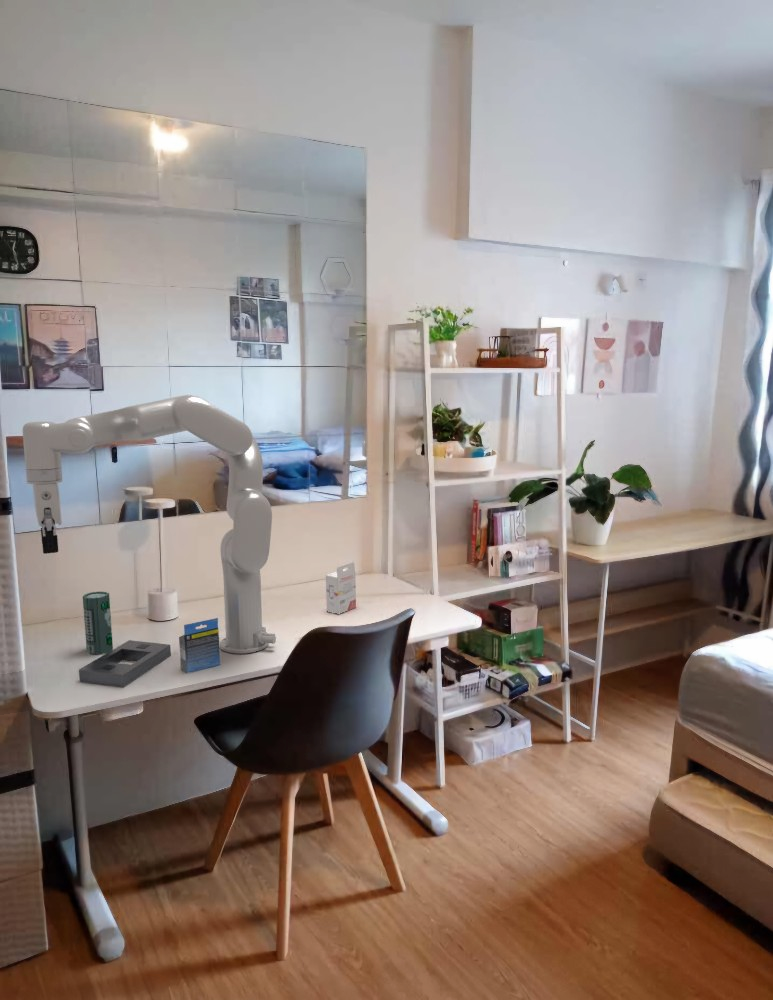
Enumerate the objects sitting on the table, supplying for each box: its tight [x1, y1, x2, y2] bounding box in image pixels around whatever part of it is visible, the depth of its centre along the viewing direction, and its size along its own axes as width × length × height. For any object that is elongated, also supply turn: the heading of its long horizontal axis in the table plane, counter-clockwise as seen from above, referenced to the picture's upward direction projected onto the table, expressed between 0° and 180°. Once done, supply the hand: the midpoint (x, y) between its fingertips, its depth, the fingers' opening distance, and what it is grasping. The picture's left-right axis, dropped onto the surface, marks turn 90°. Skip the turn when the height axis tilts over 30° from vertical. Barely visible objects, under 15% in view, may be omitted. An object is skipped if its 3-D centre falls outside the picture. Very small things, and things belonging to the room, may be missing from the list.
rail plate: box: [78, 639, 172, 688], centre depth 185 cm, size 12×20×3 cm, turn 164°
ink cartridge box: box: [325, 561, 357, 615], centre depth 228 cm, size 9×5×15 cm, turn 143°
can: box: [82, 591, 114, 656], centre depth 195 cm, size 6×6×15 cm
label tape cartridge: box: [178, 617, 221, 674], centre depth 185 cm, size 9×4×12 cm, turn 127°
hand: (50, 548), depth 176 cm, fingers open, 9 cm apart
